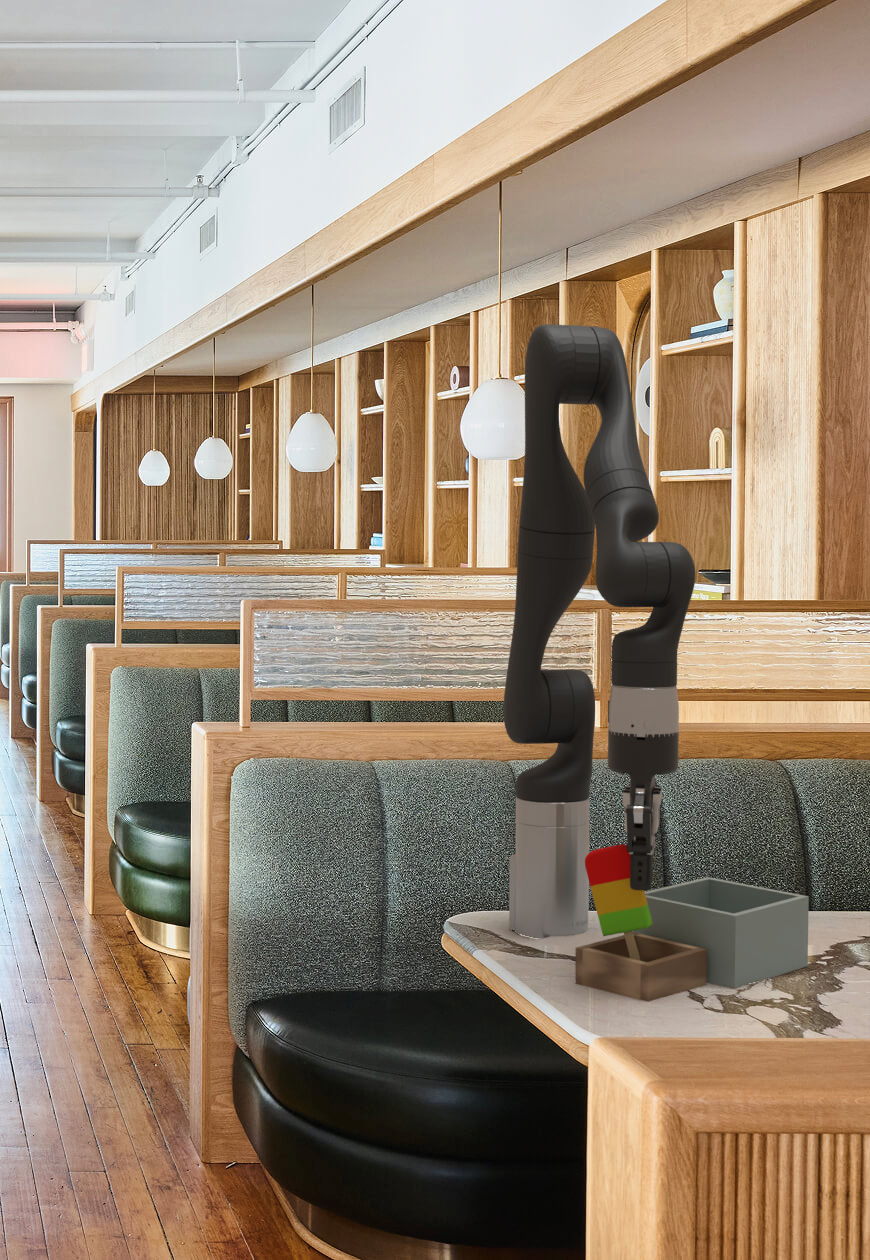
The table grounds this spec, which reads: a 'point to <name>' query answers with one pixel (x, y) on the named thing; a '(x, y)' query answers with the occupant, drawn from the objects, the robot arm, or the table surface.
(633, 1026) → the table surface
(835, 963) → the table surface
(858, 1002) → the table surface
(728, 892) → the bin
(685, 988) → the collar
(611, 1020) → the table surface
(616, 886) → the popsicle
